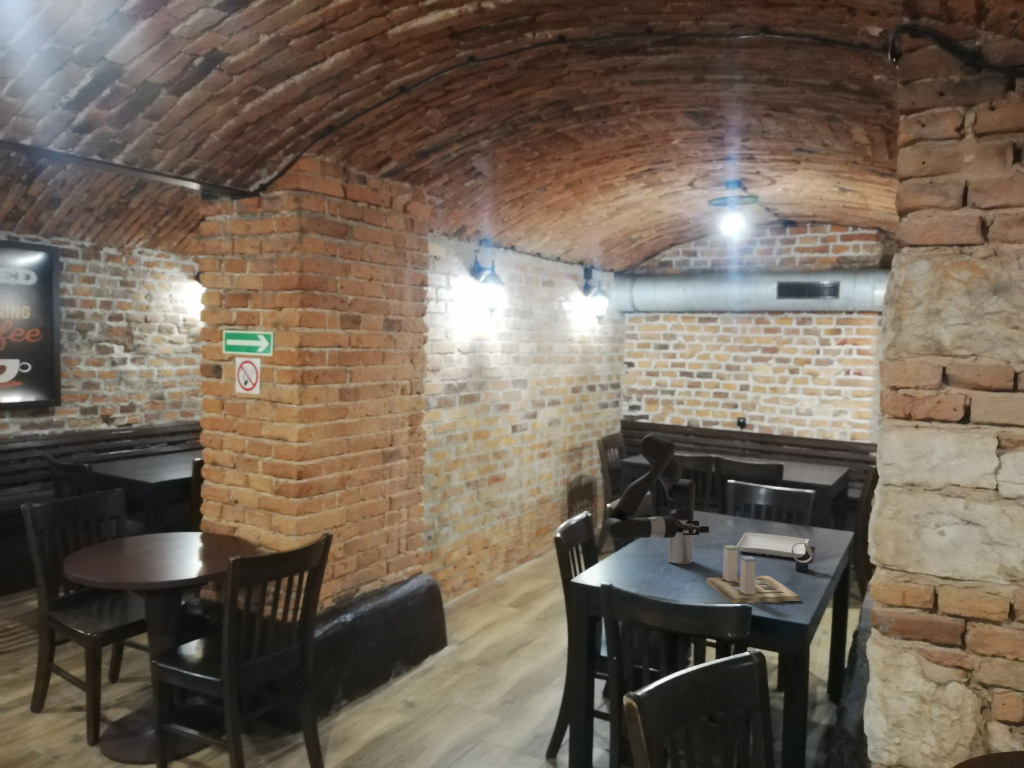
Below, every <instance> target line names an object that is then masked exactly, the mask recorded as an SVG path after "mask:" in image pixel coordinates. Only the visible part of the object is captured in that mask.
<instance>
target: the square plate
mask: <svg viewBox="0 0 1024 768" xmlns="http://www.w3.org/2000/svg"><path fill="white" fill-rule="evenodd" d="M799 541H802V542H805V543H808V544H809V542H810V539H809V538H801V537H795V536H789V535H788V536H787V535H779V534H771V533H770V534H769V533H757V532H744V534H743V535H742V537H741V538H740V540H739V541H738V543H737V544H736V545H735V546H736V547H737V548H738V550H739V551H740V552H744V553H749V554H754V553H756V554H755V555H762V554H765V555H764V556H770V555H773V556H772V557H778V556H780V557H779V558H786V557H788V558H787V559H794V557H793V555H792V551H791V550H792V546H793V544H795V543H796V542H799ZM793 551H794V554H795V556H796V557H797V559H800V558H803V556H805V555H806V553H807V550H806V548H805V546H804V544H797V545H795V546H794V548H793Z"/></svg>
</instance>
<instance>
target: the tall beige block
mask: <svg viewBox="0 0 1024 768" xmlns="http://www.w3.org/2000/svg"><path fill="white" fill-rule="evenodd" d="M736 546H737V545H734V544H728V545H727V544H725V545H724V544H723V546H722V547H723V564H722V565H723V568H722V576H721V577H722V578H724V579H725V580H726V581H737V577H738V575H737V574H738V554H739V553H738V550H739V549H738V548H737V547H736Z"/></svg>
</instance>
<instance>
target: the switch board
mask: <svg viewBox="0 0 1024 768" xmlns="http://www.w3.org/2000/svg"><path fill="white" fill-rule="evenodd" d="M706 584H707V585H708V586H710V588H712V589H713V590H714V591H715V592H716V593H718V592H719V593H720V594H719V593H718V594H719V595H720V596H722V595H723V596H724V597H725V599H726V598H727V599H728V600H729V601H731V602H732V603H748V602H751V603H750V604H756V603H755V602H773V603H784V602H783V601H799V602H800V595H799V594H798V593H796V592H794V591H793V590H792V589H789V588H788V587H787V586H785V585H784V584H782V583H780V582H779V581H777V580H776V579H774V578H773V577H771V576H770V575H755V594H744V593H742V592H741V591H740V590H739V587H740V576H737V581H726V580H725V579H724V578H722V576H720V577H719V576H717V577H706ZM723 596H722V597H723ZM724 597H723V598H724ZM727 599H726V600H727ZM728 600H727V601H728ZM729 601H728V602H729ZM780 601H781V602H780ZM731 602H730V603H731ZM732 603H731V604H732ZM748 604H749V603H748Z"/></svg>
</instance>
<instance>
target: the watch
mask: <svg viewBox="0 0 1024 768" xmlns="http://www.w3.org/2000/svg"><path fill="white" fill-rule="evenodd" d="M797 544H804V546H805V548H806V553H808V555H809V558H807V559H806V560H802V559H799V558H797V557H796V556H795V554H794V551H793V548H794V546H795V545H797ZM791 551H792V555H793V557H794V558H793V559H794V560H795V562H794V563H795V564H794V568H795V569H796V570H795V572H796V571H797V573H805V572H808V573H809V563H808V562H811V560H812V559H813V556H814V552H813V550H812V548H811V546H810V544H809V542H808V543H805V542H802V541H799V542H796V543H795V544H793V546H792V550H791Z"/></svg>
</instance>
